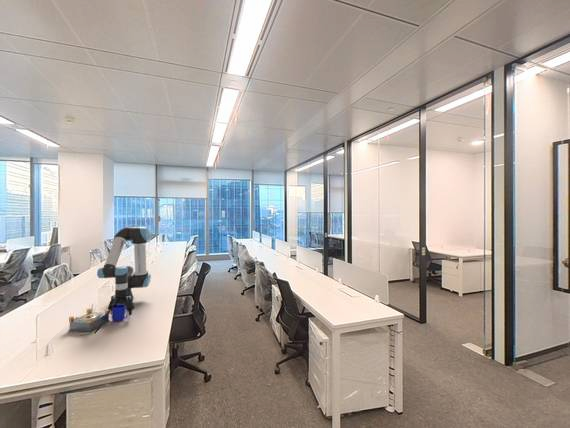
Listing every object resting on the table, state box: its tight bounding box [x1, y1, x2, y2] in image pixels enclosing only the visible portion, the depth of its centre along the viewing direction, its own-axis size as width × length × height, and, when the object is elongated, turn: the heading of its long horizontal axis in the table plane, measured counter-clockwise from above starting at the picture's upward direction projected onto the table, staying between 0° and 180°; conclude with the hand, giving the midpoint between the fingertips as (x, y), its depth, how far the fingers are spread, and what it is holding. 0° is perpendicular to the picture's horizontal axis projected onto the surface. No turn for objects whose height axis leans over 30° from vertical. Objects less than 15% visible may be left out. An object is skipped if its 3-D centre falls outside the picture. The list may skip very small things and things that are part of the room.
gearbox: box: [68, 308, 111, 334], centre depth 174 cm, size 17×18×8 cm
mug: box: [112, 303, 128, 322], centre depth 184 cm, size 8×12×10 cm
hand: (121, 319), depth 184 cm, fingers closed on mug, 11 cm apart
